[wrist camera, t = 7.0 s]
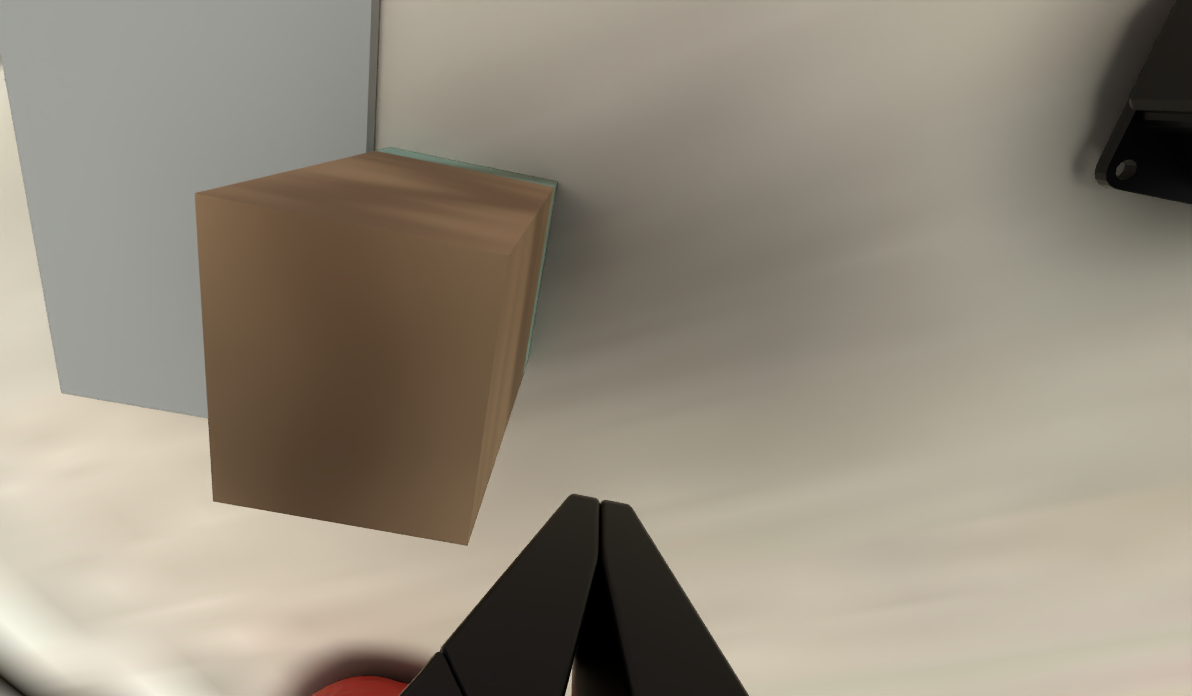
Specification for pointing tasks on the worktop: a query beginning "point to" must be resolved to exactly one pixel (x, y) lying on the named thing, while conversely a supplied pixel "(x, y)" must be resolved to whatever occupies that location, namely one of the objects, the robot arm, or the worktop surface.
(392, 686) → the tomato
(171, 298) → the mat
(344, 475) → the walnut block
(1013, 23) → the worktop surface
